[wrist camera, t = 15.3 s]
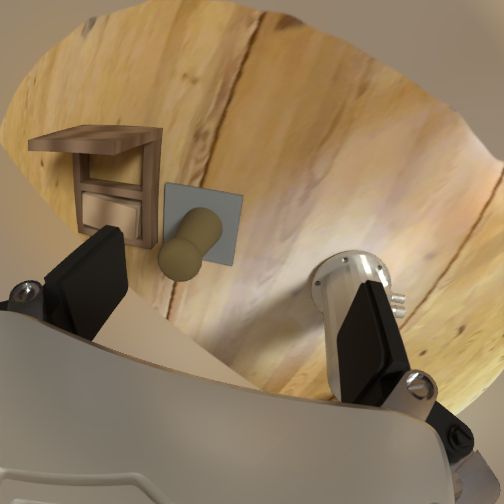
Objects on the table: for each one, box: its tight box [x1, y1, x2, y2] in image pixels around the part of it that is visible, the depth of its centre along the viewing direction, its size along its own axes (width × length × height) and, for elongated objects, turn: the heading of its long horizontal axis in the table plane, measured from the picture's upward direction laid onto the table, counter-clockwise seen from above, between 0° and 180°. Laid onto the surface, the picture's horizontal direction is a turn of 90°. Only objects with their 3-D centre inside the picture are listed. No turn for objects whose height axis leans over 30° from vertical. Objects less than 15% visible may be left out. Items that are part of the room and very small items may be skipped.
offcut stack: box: [83, 191, 143, 241], centre depth 41 cm, size 10×5×4 cm, turn 75°
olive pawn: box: [158, 207, 223, 282], centre depth 36 cm, size 6×6×11 cm
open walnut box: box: [28, 125, 163, 249], centre depth 35 cm, size 14×18×12 cm
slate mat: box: [164, 182, 243, 266], centre depth 41 cm, size 11×11×1 cm
